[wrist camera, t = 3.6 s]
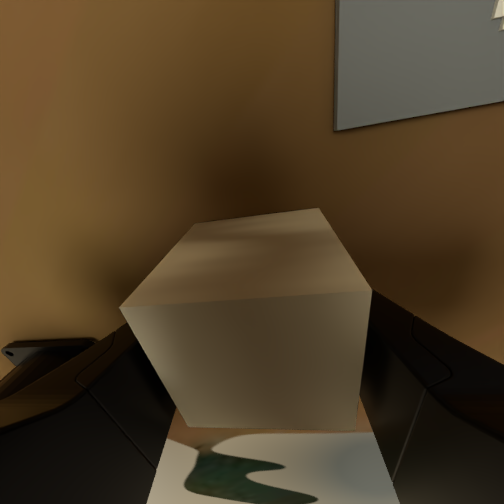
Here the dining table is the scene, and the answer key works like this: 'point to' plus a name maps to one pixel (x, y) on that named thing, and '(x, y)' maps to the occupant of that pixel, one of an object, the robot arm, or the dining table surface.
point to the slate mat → (415, 58)
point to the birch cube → (257, 324)
